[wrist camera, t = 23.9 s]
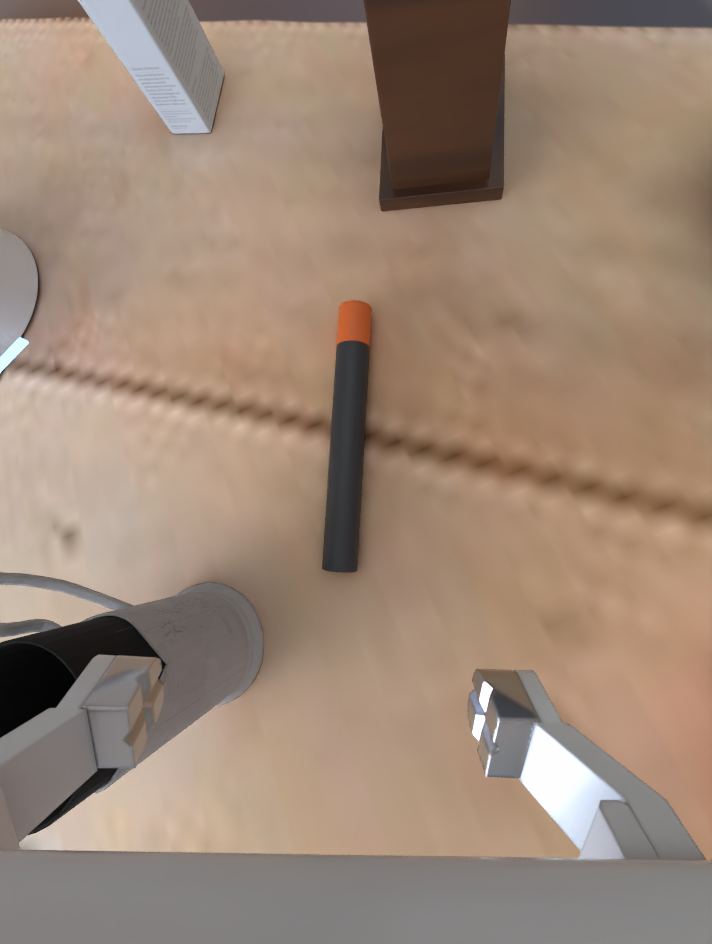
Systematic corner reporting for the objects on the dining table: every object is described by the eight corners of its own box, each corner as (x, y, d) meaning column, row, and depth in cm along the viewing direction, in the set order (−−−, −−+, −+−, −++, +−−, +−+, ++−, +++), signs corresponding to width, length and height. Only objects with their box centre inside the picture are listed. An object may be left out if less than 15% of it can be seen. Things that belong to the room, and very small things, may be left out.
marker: (333, 567, 31) (363, 570, 30) (315, 569, 29) (346, 573, 28) (349, 318, 34) (377, 312, 33) (333, 304, 32) (362, 297, 30)
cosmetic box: (184, 76, 40) (76, -111, 28) (226, 74, 39) (132, -120, 27) (170, 136, 39) (53, -30, 28) (211, 135, 38) (109, -37, 27)
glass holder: (217, 732, 31) (17, 908, 17) (89, 608, 35) (-170, 664, 20) (286, 632, 31) (146, 721, 17) (151, 518, 35) (-64, 508, 20)
